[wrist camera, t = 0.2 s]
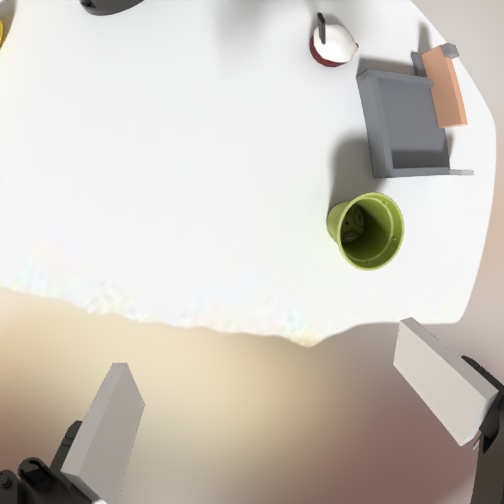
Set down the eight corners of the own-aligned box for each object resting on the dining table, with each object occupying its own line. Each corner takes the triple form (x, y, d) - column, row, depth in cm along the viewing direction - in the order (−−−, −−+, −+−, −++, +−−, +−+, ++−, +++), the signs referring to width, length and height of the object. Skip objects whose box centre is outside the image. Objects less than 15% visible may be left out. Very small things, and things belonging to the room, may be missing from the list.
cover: (419, 54, 32) (447, 40, 24) (427, 56, 32) (454, 43, 24) (437, 127, 36) (469, 122, 28) (445, 128, 36) (476, 123, 28)
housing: (347, 45, 33) (366, 26, 26) (423, 58, 33) (446, 47, 27) (373, 177, 38) (399, 178, 31) (446, 173, 39) (473, 175, 32)
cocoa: (349, 47, 33) (387, 13, 21) (349, 78, 34) (393, 48, 23) (291, 32, 32) (317, -13, 20) (289, 64, 33) (318, 22, 21)
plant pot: (305, 203, 38) (326, 209, 30) (361, 181, 38) (393, 182, 30) (326, 263, 40) (350, 283, 32) (378, 238, 40) (410, 252, 32)
